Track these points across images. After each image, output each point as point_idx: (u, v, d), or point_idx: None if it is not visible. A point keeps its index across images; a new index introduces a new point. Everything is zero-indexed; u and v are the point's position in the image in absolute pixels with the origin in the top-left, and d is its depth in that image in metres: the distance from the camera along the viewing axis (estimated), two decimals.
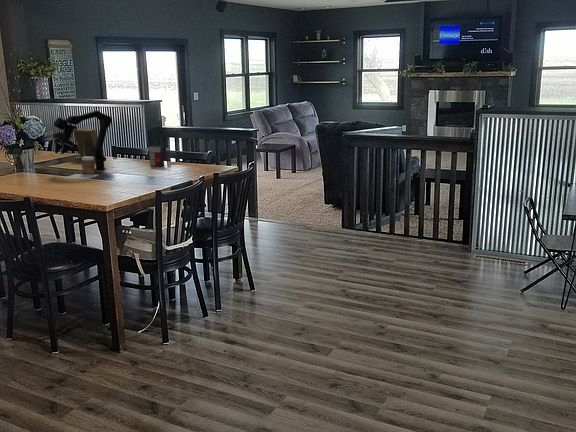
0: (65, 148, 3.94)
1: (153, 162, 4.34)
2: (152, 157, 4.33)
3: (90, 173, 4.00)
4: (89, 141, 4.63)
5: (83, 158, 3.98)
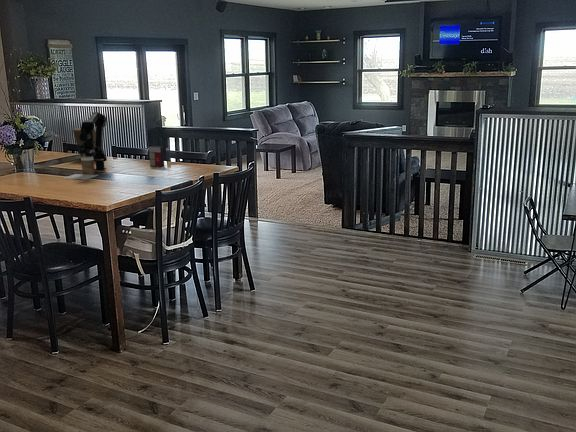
0: None
1: (153, 162, 4.34)
2: (152, 157, 4.33)
3: (90, 173, 4.00)
4: None
5: (82, 158, 3.98)
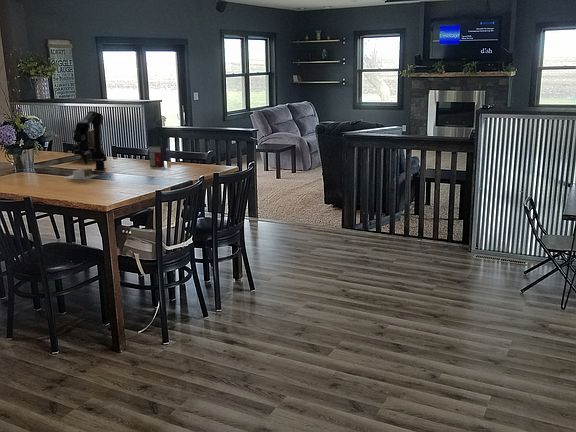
0: (84, 157, 3.96)
1: (153, 162, 4.34)
2: (152, 157, 4.33)
3: (89, 174, 3.99)
4: (89, 141, 4.63)
5: None
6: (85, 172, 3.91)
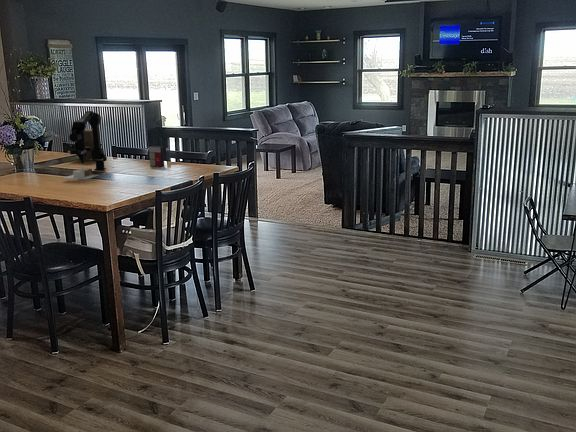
0: (81, 157, 3.91)
1: (153, 162, 4.34)
2: (152, 157, 4.33)
3: (89, 174, 3.99)
4: (89, 141, 4.63)
5: None
6: (85, 172, 3.91)
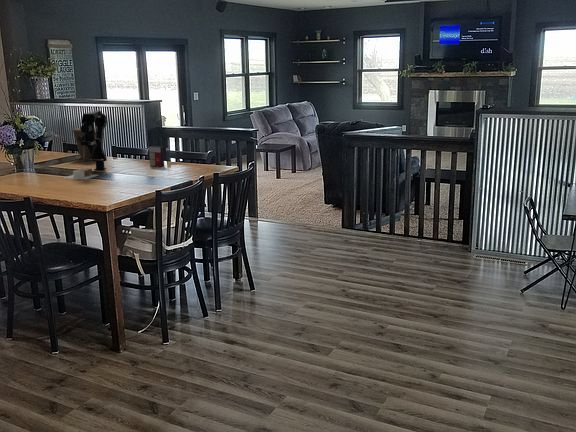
0: (90, 148, 4.03)
1: (153, 162, 4.34)
2: (152, 157, 4.33)
3: (89, 174, 3.99)
4: None
5: None
6: (85, 172, 3.91)
